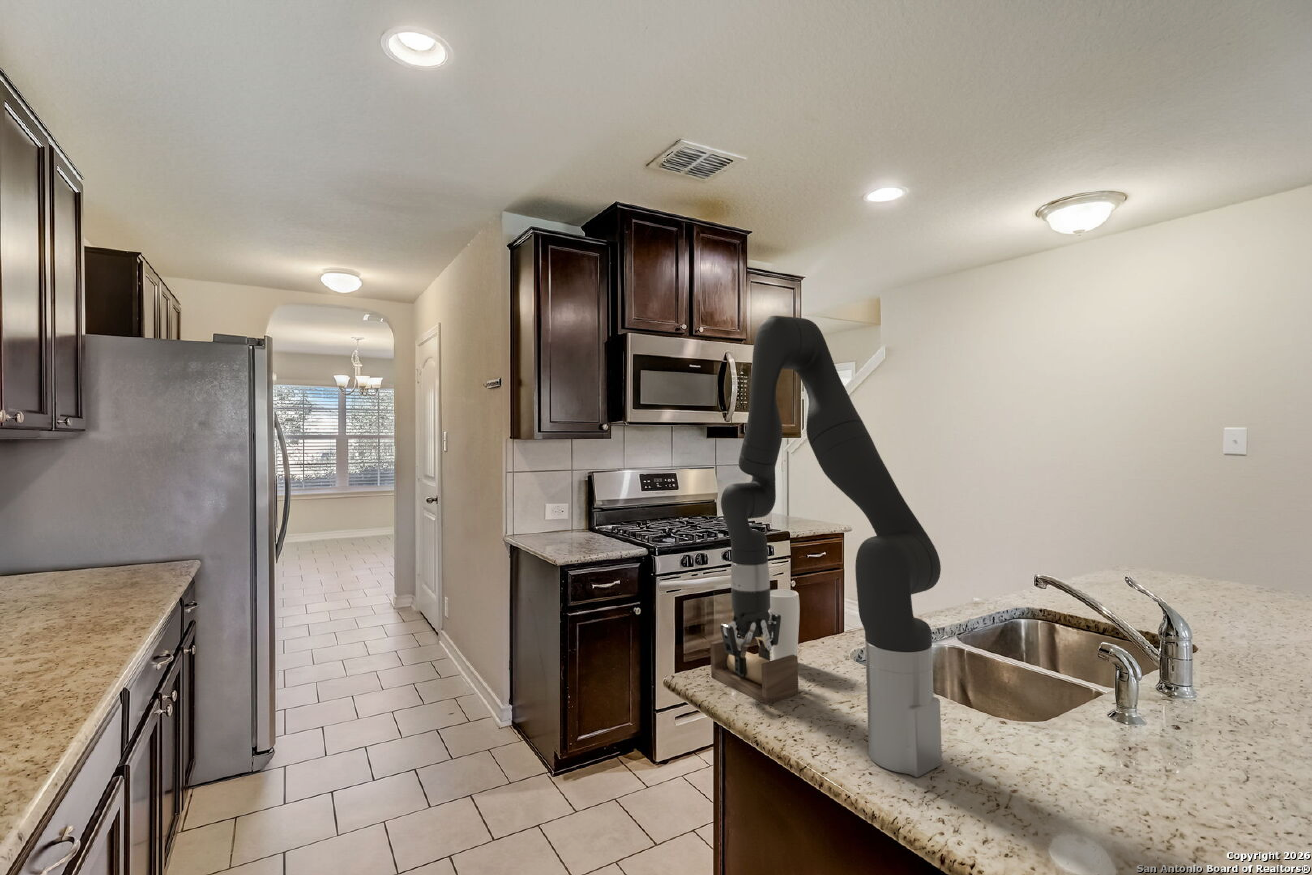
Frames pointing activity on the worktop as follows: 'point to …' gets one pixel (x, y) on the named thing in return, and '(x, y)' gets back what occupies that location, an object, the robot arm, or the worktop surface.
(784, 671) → the holder
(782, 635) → the drinking glass
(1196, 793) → the worktop surface
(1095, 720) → the worktop surface
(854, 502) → the robot arm
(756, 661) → the roll
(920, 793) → the worktop surface
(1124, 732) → the worktop surface
